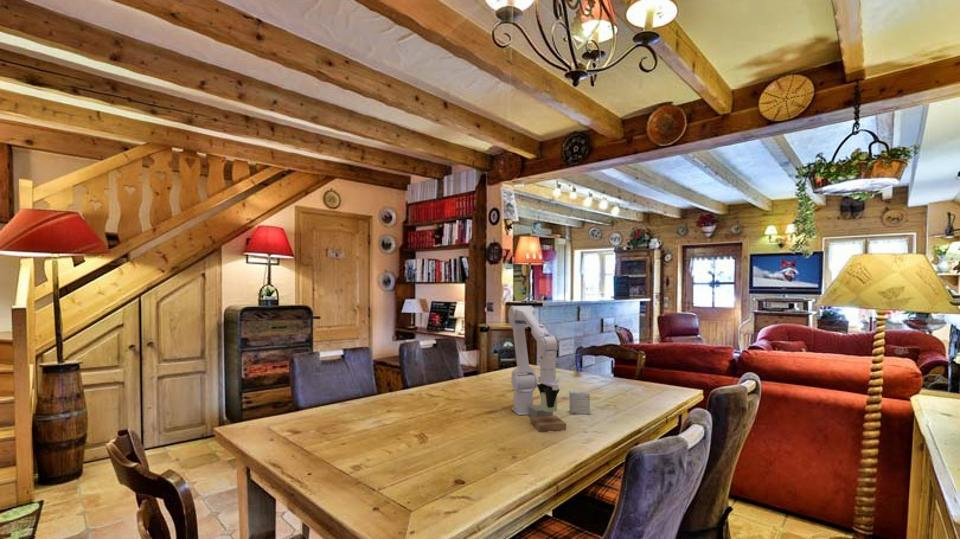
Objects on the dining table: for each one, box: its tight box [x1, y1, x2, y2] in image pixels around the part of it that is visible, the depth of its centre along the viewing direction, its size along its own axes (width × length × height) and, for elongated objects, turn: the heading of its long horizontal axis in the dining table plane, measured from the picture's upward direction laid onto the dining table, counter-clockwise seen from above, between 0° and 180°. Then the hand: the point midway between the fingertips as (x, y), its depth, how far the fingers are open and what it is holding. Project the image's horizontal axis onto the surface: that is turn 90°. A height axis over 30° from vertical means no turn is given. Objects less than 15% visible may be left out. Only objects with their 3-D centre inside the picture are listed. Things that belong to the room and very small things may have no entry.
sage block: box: [540, 392, 558, 413], centre depth 163 cm, size 4×4×6 cm
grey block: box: [528, 404, 554, 418], centre depth 175 cm, size 7×7×4 cm
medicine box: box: [568, 390, 591, 415], centre depth 181 cm, size 8×4×9 cm, turn 84°
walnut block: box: [530, 414, 567, 433], centre depth 163 cm, size 10×10×3 cm
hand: (547, 405), depth 163 cm, fingers closed on sage block, 4 cm apart
